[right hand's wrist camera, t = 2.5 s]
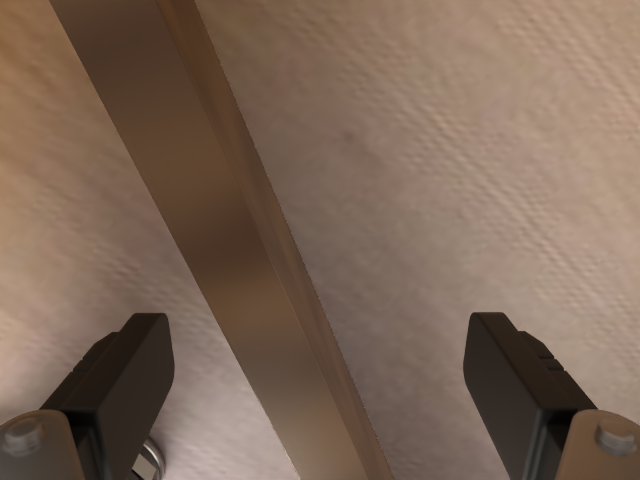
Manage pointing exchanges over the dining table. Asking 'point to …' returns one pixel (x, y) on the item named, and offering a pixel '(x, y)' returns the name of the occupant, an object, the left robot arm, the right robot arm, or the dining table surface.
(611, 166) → the dining table surface
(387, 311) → the dining table surface
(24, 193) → the dining table surface
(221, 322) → the post
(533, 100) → the dining table surface
